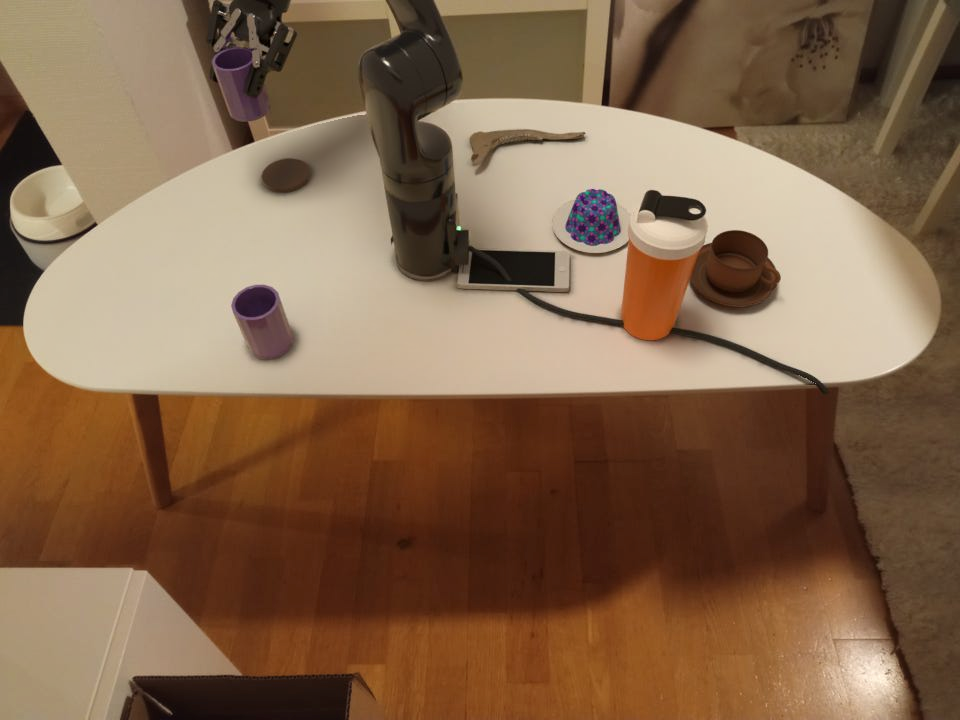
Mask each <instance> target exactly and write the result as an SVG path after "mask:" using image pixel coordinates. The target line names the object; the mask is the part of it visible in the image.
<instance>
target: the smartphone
mask: <svg viewBox="0 0 960 720" xmlns="http://www.w3.org/2000/svg"><path fill="white" fill-rule="evenodd" d="M477 249H478V250H480V251H482V252H483V253H485V254H487V255H489V256H490V257H492V258H493V259H495V260H496V261H497V262H498V263H499V264H500V265H501V266H502V267H503V268H504V269H505V271H506V272H507V274H508V275H509V277H510V278H511V279H512V280H511V281H507V280H505V279H504V278H503V276H502V275H501V273H500V272H499V271H498V269H497V268H496V267H495V266H493V265H492V264H491V263H489V262H488V261H486V260H485V259H483V258H481V257H479V256H477V255H476V254H474V253H472V252H470V251H469V262H468V265H460V266H459V272H458V274H457V282H456V284H457V285H456V286H457V288H458V289H465V290H466V289H467V290H490V291H491V290H494V291H516V289H524V290H525V291H527V292H548V293H549V292H550V293H551V292H552V293H553V292H554V293H568V292H569V291H570V258H571V257H570V252H569V251H560V250H557V251H556V250H529V249H528V250H527V249H499V248H497V249H496V248H495V249H494V248H493V249H492V248H477Z"/></svg>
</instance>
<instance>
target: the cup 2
mask: <svg viewBox="0 0 960 720" xmlns="http://www.w3.org/2000/svg"><path fill="white" fill-rule="evenodd" d="M230 307H231V311H232V314H233V316H234V319H235V321H236V323H237V325H238V327H239V330H240V332H241V334H242V337H243V339H244V341H245V343H246V346H247V348H248V350H249V352H250V353H251V354H252V355H253V356H254V357H255V358H258V359H261V360H274V359H277V358H280V357H282V356H283V355H285V354H287V352H289V351H290V349H291V348H292V346H293V344H294V334H293V331H292V328H291V325H290V323H289V319H288V317H287V314H286V311H285V309H284V305H283V303H282V299H281V297H280V294H279V292H278V291H277V290H276V289H275V288H274V287H273V286H270V285H267V284H253V285H249V286H246V287H245V288H242V289H241V290H240V291H238V292H237V293H236V294H235V296H233V298H232V302H231V305H230Z"/></svg>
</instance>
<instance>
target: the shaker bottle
mask: <svg viewBox="0 0 960 720" xmlns="http://www.w3.org/2000/svg"><path fill="white" fill-rule="evenodd" d="M706 213H707V208H706V206H705V205H704V203H702V202H701V201H700V200H698V199H696V198H692V197H686V196H677V195H666V194H665V195H663V194H662V192H661V191H659V190H658V189H654V188H651V189H649V190H646V192H645V193H644V195H643V198H642V201H641V203H639V204H638V205H636V207H634V209H633V210H632V211H631V213H630V215H631V216H630V221H629V226H628V236H629V241H628V242H627V243H628V244H627V253H626V261H625V262H626V263H625V272H624V283H623V291H622V300H621V301H622V302H621V309H620V310H621V311H620V320H623V323H624V326H622V327H623V329H624V330H625V331H626V332H627V333H628V334H630V335H631V336H632V337H634V338H637V339H640V340H645V341H654V340H661V339H663V338H665V337H667V336H668V335H669V334H670V333H671V332H670V330H671V329H672V327H674V328H675V324H676V321H677V319H678V318H677V317H678V315H679V312H680V310H681V306H682V304H683V301H684V298H685V295H686V291H687V290H688V286H689V283H690V277H691V274H692V271H693V268H694V265H695V262H696V259H697V256H698V253H699V250H700V249H701V248H702V247H703V245H705V242H706V237H707V233H708V227H709V225H708V220H707V218H706V216H705V215H706Z"/></svg>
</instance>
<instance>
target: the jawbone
mask: <svg viewBox="0 0 960 720" xmlns="http://www.w3.org/2000/svg"><path fill="white" fill-rule="evenodd" d="M586 134H587V132H585V131H581V132H579V131H578V132H573V131H572V132H565V133H552V132H547V131H543V130H542V131H541V130H536V129H527V128H524V129H523V128H521V129H519V128H518V129H504V130H502V129H501V130H492V131H486V132H485V131H475V132H474V133H472V134H471V135H470V137H469V143H470V146H471V148H472V154H471V157H470V160H471V163H472V167H476V166H479V165H480V164H482V163H483V162H484V161H485V159H486V158H487V157H488V155H489V153H490V152H491V151H492V150H493V149H495V148H496V147H497V146H499V145H502V144H509V143H512V142H514V143H515V142H520V141H521V142H522V141H526V140H528V141H529V140H531V141H536V140H537V141H543V140H555V141H556V140H576V139H581V138H584V137H585V135H586Z"/></svg>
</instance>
